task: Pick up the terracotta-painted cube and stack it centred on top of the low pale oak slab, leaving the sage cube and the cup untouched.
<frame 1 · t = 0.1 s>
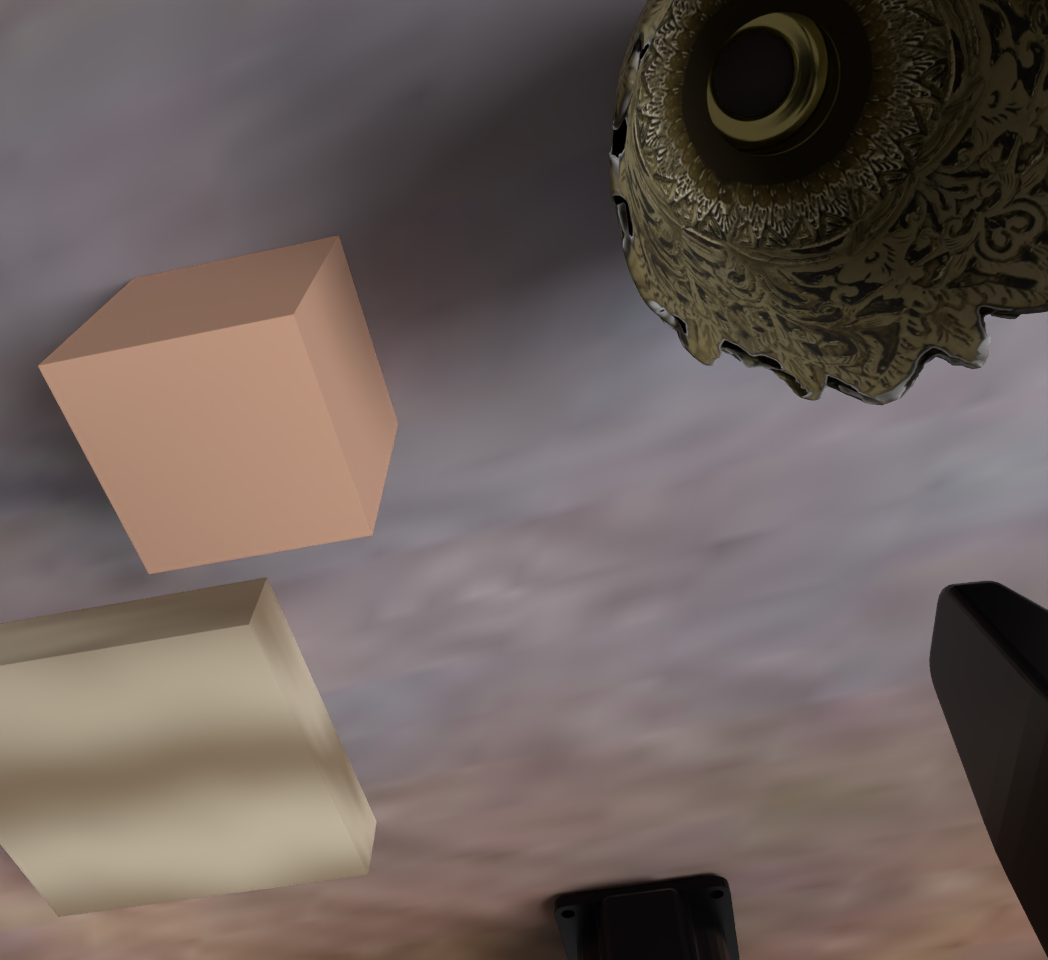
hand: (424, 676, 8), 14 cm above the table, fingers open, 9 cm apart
cup: (750, 73, 19), on the table
terracotta cube: (272, 353, 22), on the table
plinth: (169, 726, 29), on the table
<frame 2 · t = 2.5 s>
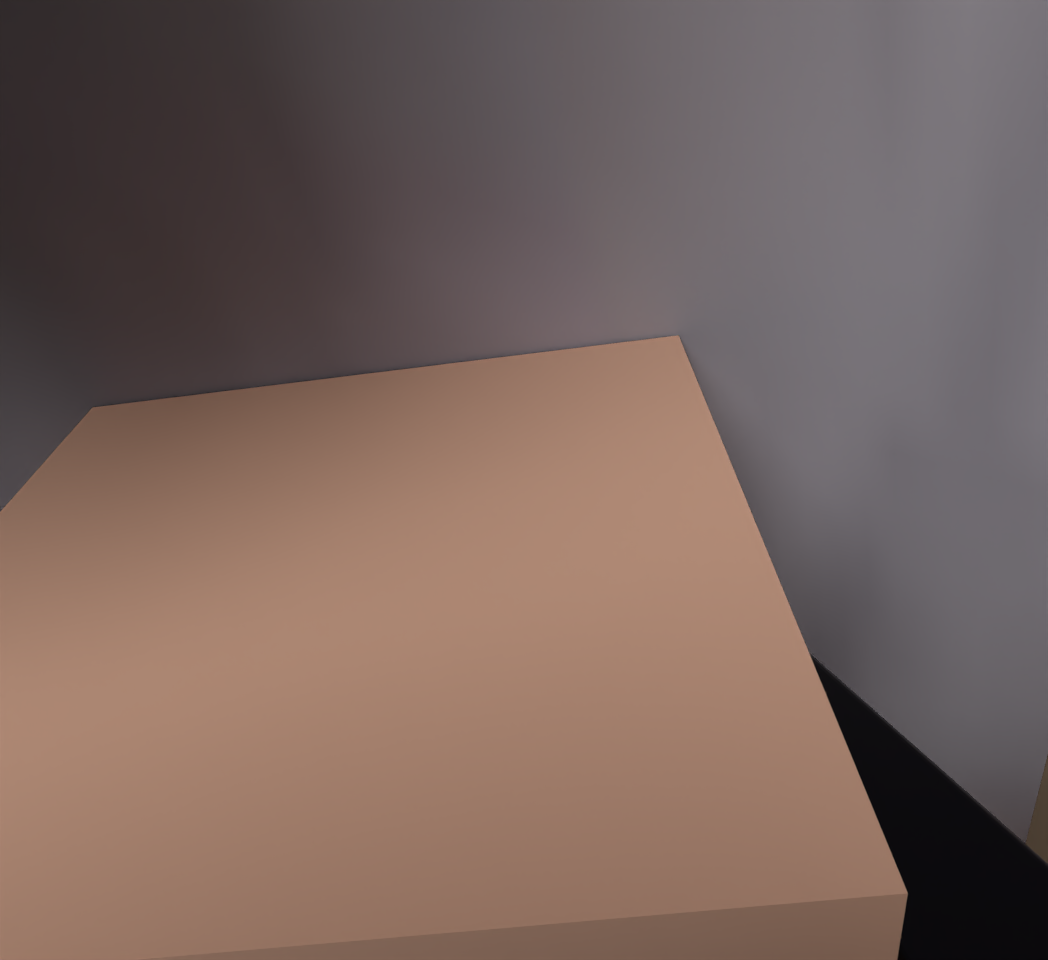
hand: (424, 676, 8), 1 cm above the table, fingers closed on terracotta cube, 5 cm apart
terracotta cube: (433, 602, 9), on the table, touching gripper
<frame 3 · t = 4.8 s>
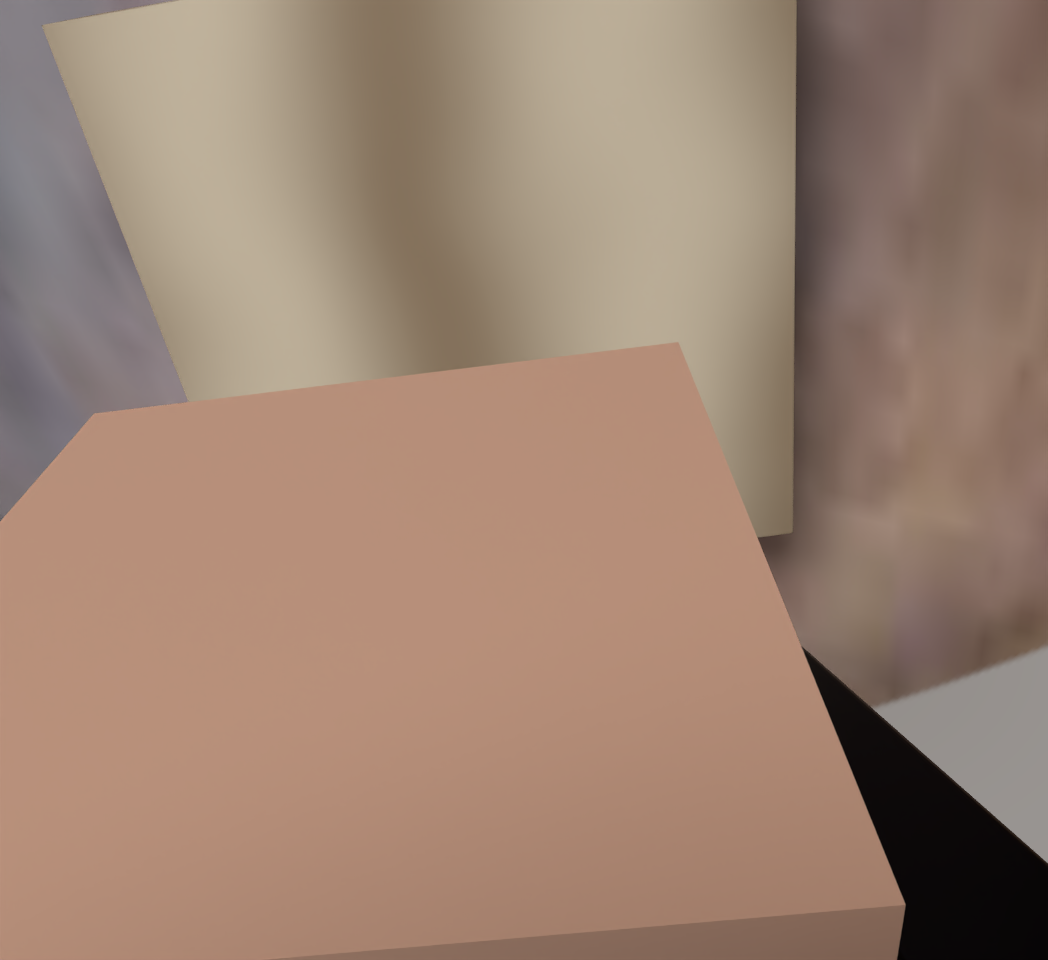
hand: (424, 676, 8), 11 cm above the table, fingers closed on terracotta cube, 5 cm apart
terracotta cube: (433, 607, 9), point 10 cm above the table, touching gripper
plinth: (480, 273, 18), on the table
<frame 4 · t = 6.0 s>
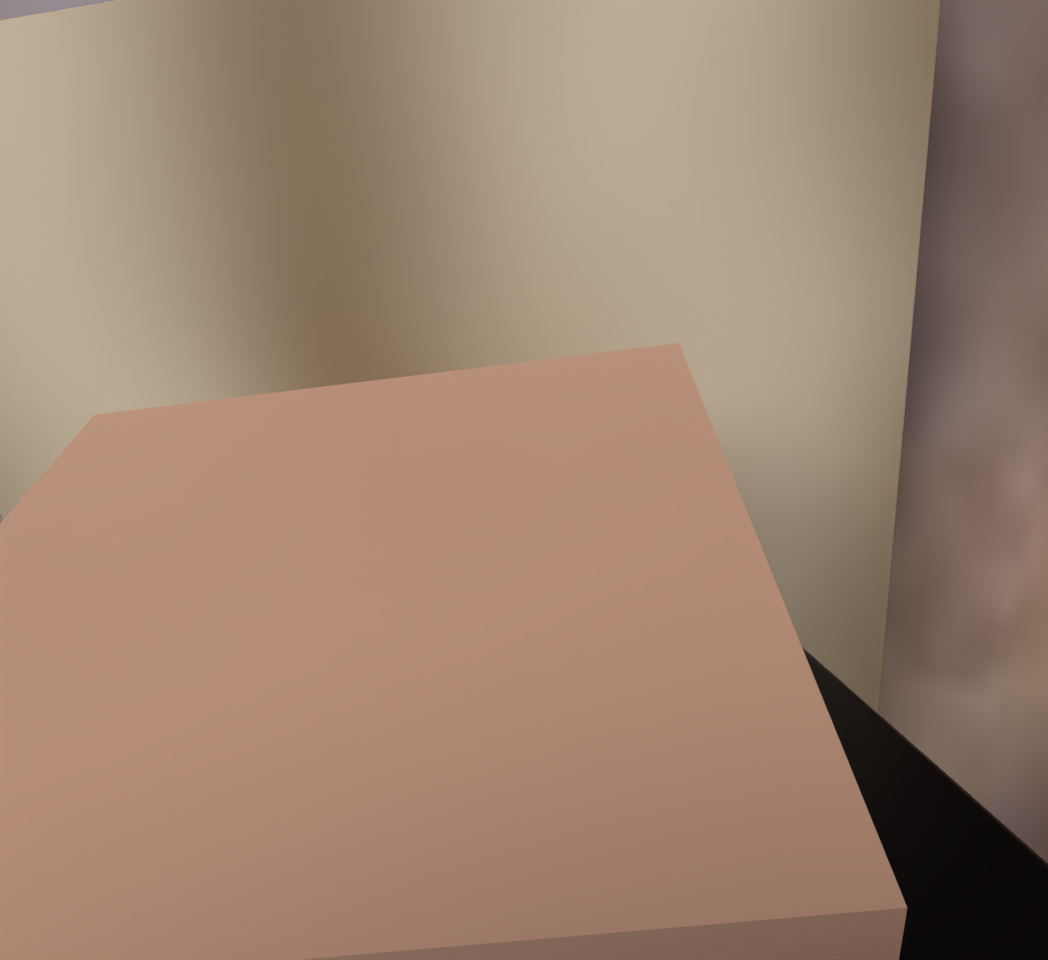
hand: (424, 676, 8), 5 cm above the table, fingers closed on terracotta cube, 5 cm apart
terracotta cube: (434, 608, 9), point 4 cm above the table, touching gripper
plinth: (455, 390, 13), on the table
when the fingers open (4 cm above the table, at t = 7.1 s): terracotta cube drops 2 cm, resting on plinth.
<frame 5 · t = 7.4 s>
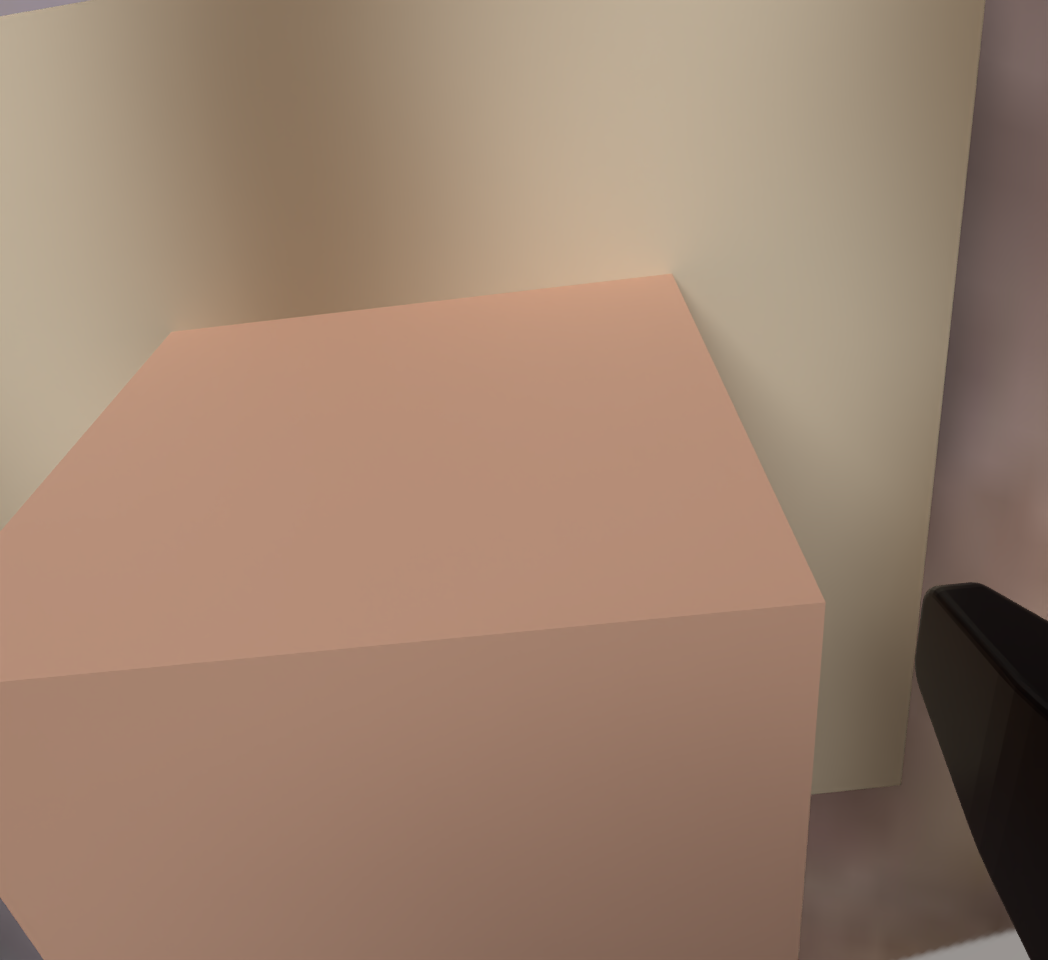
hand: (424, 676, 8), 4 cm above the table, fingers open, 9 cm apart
terracotta cube: (457, 512, 10), point 2 cm above the table, touching plinth
plinth: (454, 414, 12), on the table, touching terracotta cube
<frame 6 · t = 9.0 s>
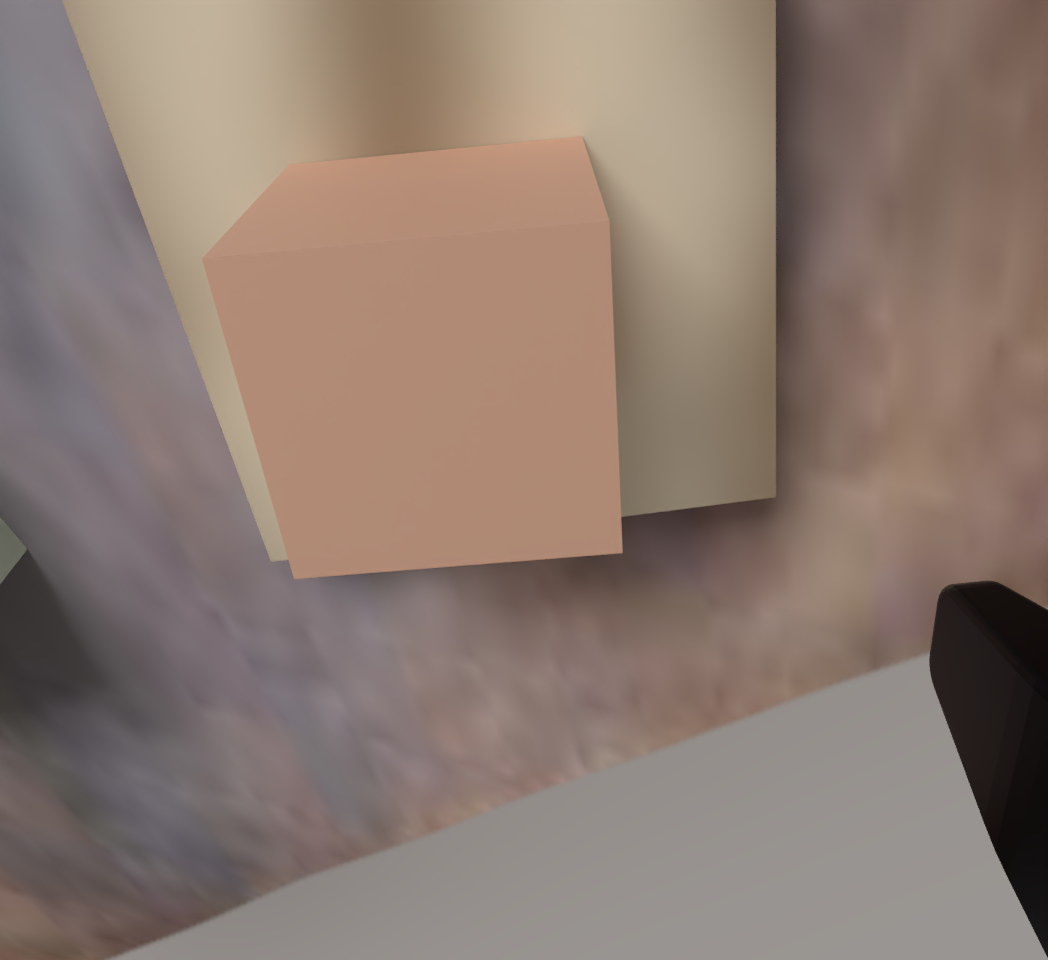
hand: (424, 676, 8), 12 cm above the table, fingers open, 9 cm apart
terracotta cube: (453, 291, 16), point 2 cm above the table, touching plinth
plinth: (478, 245, 18), on the table, touching terracotta cube
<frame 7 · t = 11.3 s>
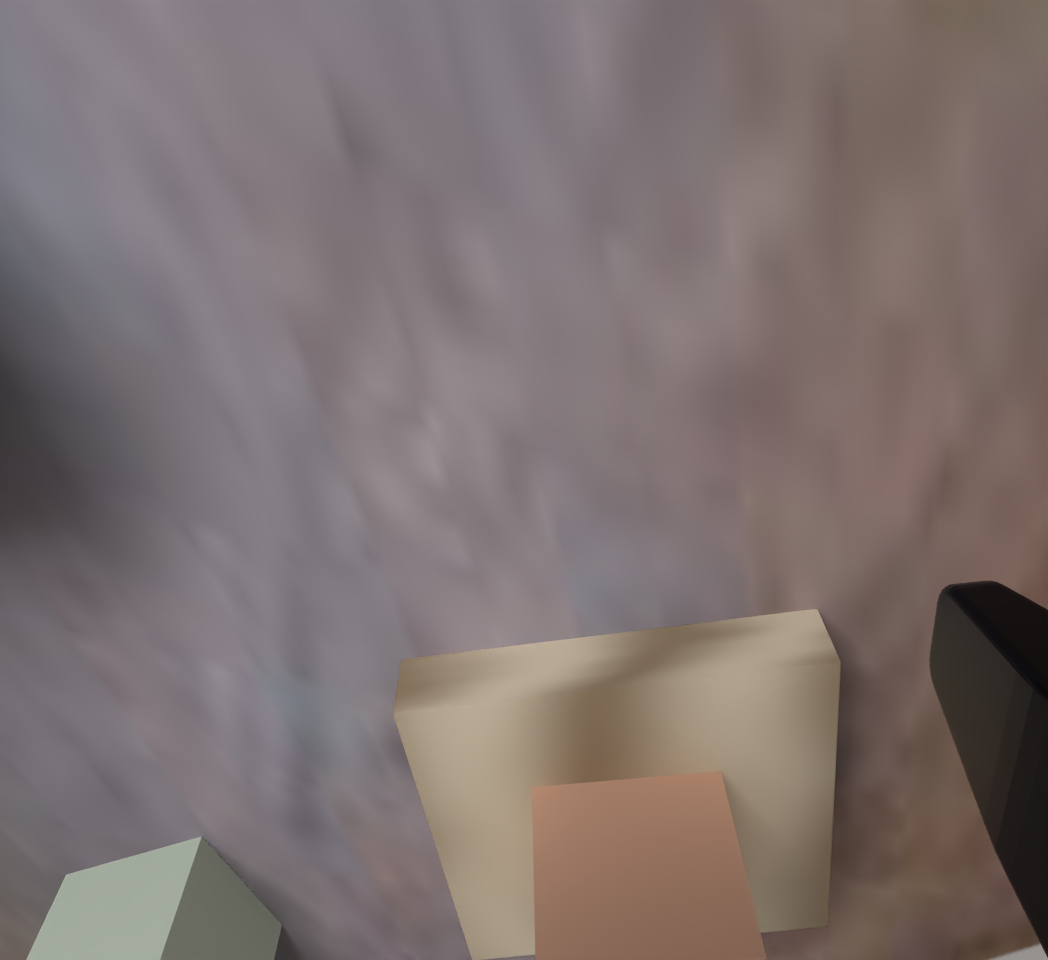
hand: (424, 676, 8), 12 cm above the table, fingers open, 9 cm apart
terracotta cube: (631, 839, 25), point 2 cm above the table, touching plinth
sage cube: (177, 898, 29), on the table
plinth: (622, 759, 27), on the table, touching terracotta cube
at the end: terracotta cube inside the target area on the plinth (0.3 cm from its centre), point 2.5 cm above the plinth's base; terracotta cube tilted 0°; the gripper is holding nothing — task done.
